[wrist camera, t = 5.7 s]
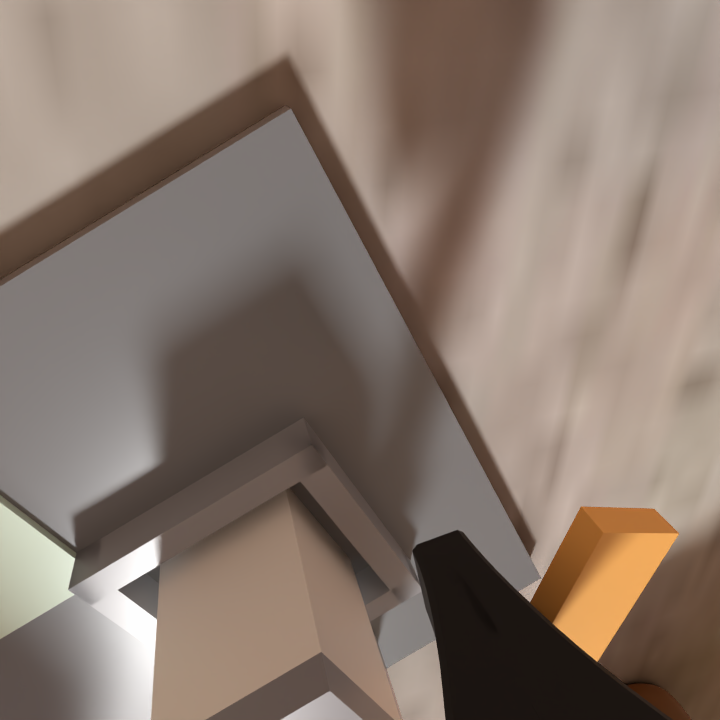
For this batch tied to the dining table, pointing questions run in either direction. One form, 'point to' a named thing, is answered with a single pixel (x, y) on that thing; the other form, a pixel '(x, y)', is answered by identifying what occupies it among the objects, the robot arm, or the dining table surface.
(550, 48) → the dining table surface
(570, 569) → the orange flat bar
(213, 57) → the dining table surface
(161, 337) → the socket board
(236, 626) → the plug
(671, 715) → the mug
